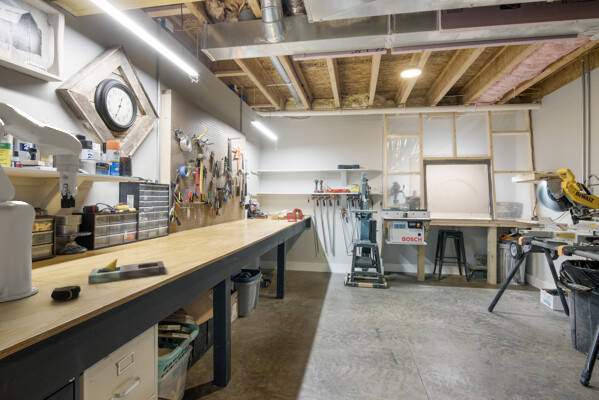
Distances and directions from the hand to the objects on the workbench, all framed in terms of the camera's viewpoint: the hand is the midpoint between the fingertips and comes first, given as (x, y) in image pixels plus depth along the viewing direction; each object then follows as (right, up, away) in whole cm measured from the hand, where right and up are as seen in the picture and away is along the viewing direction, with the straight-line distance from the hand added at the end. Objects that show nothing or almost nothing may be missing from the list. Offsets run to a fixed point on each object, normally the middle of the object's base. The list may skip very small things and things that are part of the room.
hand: (68, 207), depth 117 cm
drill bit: (+24, -29, -8) cm, 38 cm away
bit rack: (+30, -29, -5) cm, 42 cm away
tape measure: (+26, -29, -31) cm, 50 cm away
